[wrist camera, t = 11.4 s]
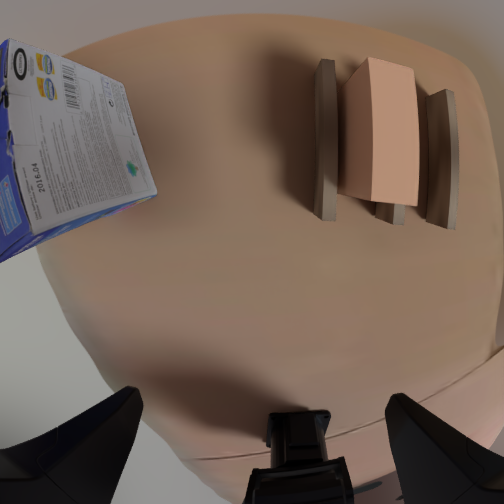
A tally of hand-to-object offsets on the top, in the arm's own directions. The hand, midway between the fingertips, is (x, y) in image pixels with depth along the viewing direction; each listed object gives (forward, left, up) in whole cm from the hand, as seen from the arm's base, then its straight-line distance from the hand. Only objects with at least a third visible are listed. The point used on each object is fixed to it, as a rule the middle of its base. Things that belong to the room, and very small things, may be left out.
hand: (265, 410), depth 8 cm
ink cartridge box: (+10, +12, -12) cm, 20 cm away
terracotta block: (+10, -6, -12) cm, 17 cm away
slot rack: (+10, -8, -12) cm, 18 cm away
